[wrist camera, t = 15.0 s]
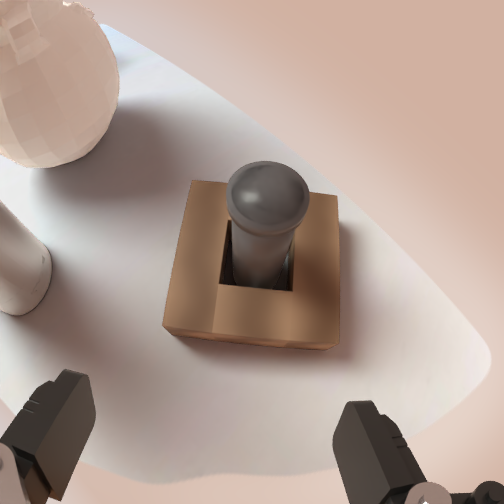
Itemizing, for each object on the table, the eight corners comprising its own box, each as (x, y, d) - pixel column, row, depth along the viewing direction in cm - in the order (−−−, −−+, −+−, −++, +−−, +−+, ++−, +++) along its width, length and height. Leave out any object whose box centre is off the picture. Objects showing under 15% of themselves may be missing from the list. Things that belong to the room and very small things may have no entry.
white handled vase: (12, 141, 38) (-53, 21, 15) (109, 83, 43) (75, -50, 20) (30, 221, 32) (-85, 67, 9) (155, 144, 37) (114, -49, 15)
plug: (226, 294, 30) (220, 224, 18) (233, 245, 32) (231, 157, 20) (280, 300, 30) (309, 234, 18) (283, 251, 32) (309, 166, 20)
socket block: (171, 334, 28) (162, 325, 24) (196, 202, 34) (192, 180, 30) (326, 350, 28) (338, 343, 24) (327, 216, 34) (337, 195, 30)
